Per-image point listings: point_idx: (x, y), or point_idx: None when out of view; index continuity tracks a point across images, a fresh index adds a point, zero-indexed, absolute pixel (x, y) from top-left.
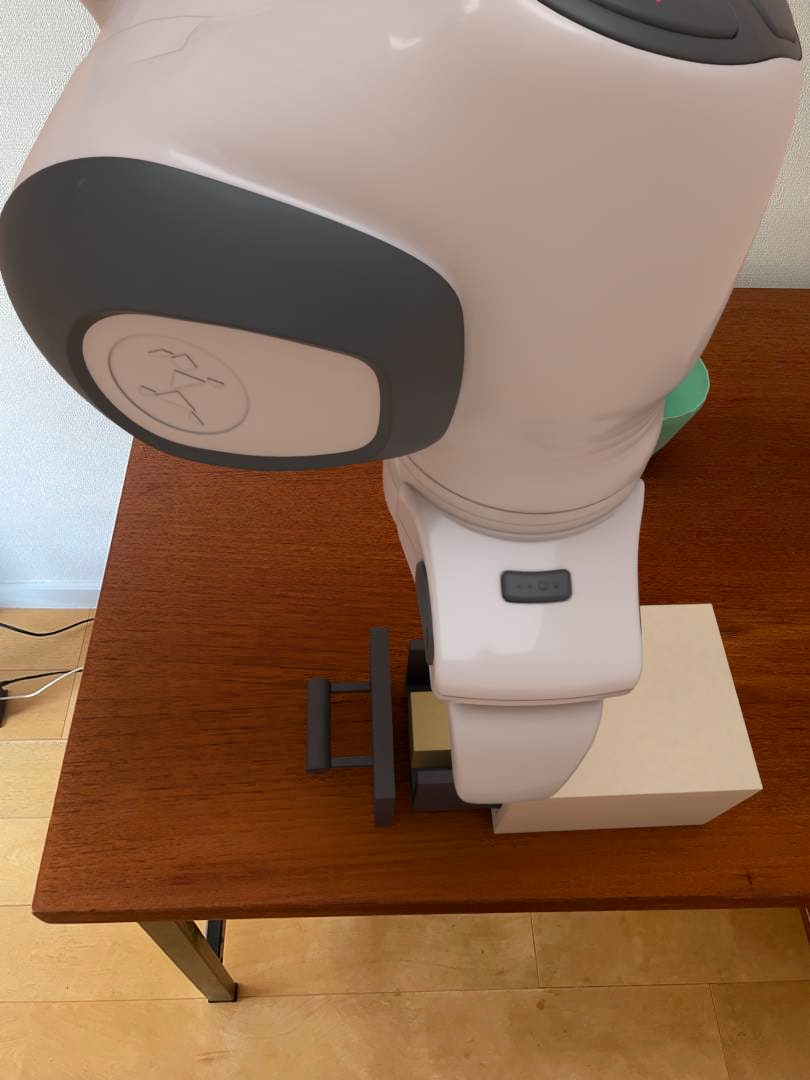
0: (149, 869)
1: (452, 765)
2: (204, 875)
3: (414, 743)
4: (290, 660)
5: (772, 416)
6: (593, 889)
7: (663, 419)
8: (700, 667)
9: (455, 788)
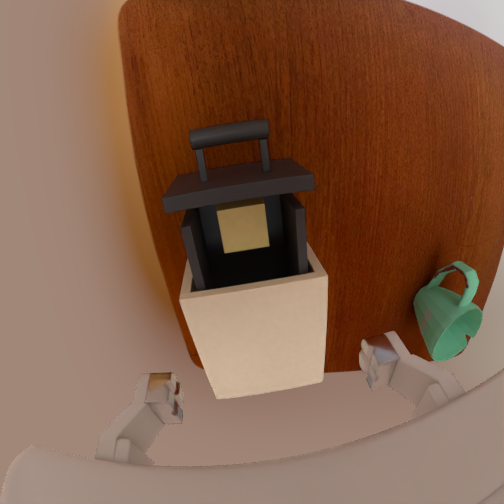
0: (138, 42)
1: (6, 501)
2: (137, 74)
3: (222, 210)
4: (296, 98)
5: (419, 355)
6: (172, 297)
7: (433, 348)
8: (283, 380)
9: (10, 468)
